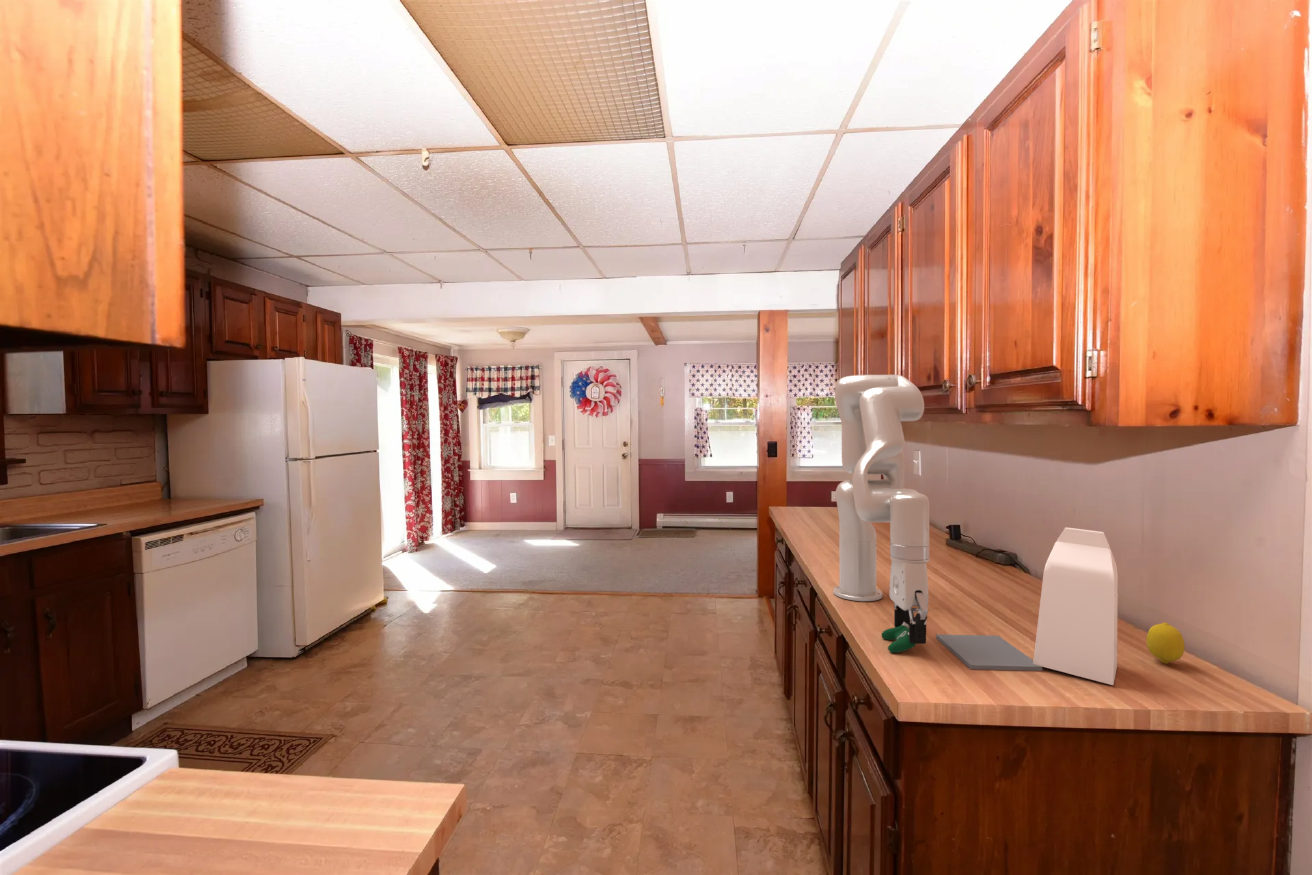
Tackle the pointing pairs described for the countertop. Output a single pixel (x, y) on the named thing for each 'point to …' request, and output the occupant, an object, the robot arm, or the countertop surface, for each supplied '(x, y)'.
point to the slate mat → (987, 652)
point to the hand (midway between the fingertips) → (909, 634)
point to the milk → (1079, 607)
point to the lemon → (1165, 642)
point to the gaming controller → (898, 638)
